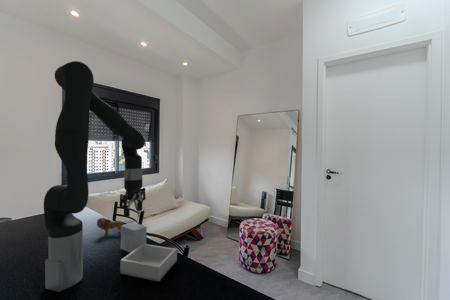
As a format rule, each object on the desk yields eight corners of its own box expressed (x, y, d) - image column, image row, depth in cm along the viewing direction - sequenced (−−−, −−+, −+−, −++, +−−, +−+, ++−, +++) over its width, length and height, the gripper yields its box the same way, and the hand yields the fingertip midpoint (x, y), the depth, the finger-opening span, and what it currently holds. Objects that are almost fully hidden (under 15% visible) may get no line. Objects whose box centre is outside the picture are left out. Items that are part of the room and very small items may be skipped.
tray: (159, 281, 71) (159, 267, 70) (120, 273, 75) (120, 260, 74) (176, 260, 83) (176, 248, 83) (142, 255, 87) (142, 243, 87)
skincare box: (147, 248, 92) (147, 225, 92) (134, 255, 87) (134, 231, 87) (132, 242, 98) (132, 221, 98) (119, 248, 92) (119, 225, 92)
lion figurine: (95, 238, 102) (95, 220, 102) (98, 233, 107) (98, 216, 107) (127, 234, 106) (127, 217, 106) (128, 230, 112) (128, 214, 111)
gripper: (129, 181, 84) (129, 220, 84) (150, 175, 97) (150, 209, 98) (114, 180, 85) (114, 218, 86) (136, 175, 99) (136, 207, 100)
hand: (133, 213), depth 92 cm, fingers open, 8 cm apart
